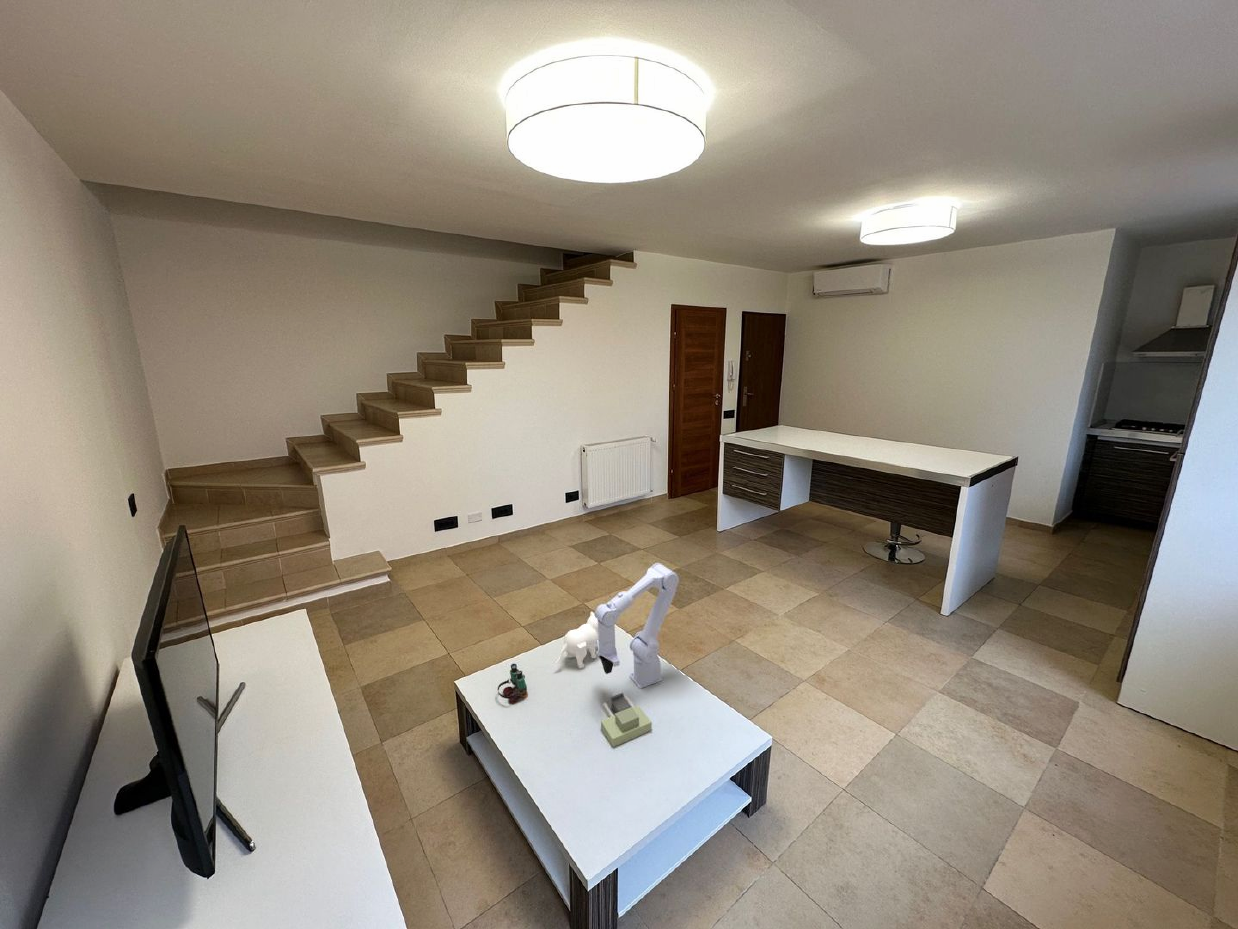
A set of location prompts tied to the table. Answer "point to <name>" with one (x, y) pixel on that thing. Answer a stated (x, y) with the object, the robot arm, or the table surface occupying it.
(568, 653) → the cat figurine
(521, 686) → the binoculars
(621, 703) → the grey overhanging lid block
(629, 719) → the green post base
